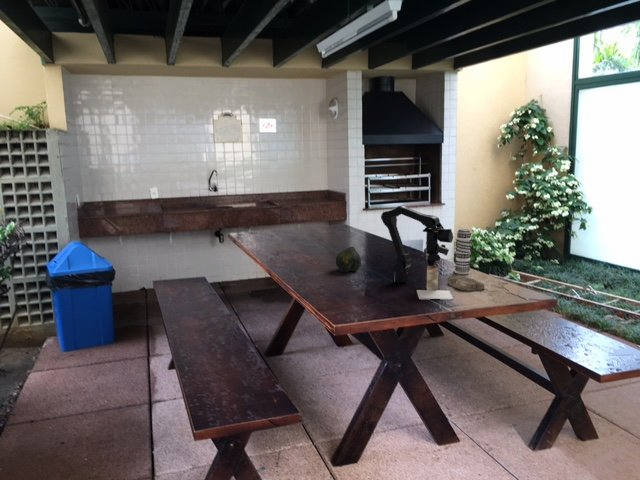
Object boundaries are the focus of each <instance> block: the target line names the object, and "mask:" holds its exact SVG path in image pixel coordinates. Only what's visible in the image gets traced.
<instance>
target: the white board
mask: <svg viewBox="0 0 640 480" xmlns="http://www.w3.org/2000/svg"><path fill="white" fill-rule="evenodd" d="M416 293H417V297H418V299H419V300H430V299H440V301H441V300H442V301H443V300H444V301H448V300H449V301H454V297H453V295H452V293H451V291H450V290H440V289H438V290H427V289H416Z"/></svg>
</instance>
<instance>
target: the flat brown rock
mask: <svg viewBox="0 0 640 480" xmlns="http://www.w3.org/2000/svg"><path fill="white" fill-rule="evenodd" d="M447 283H448V285H449V286H451V287H452V288H454V289H458V290H461V291H465V292H466V291H467V292H472V291H471V290H475V291H483V290H482V289H484V290H485V287H486V286H485V284H484V283H483V282H481V281H478V280H477V279H474V278H471V277H468V276H467V277H466V276H464V275H461V274H460V275H459V274H458V275H453V276H450V277H448V279H447Z"/></svg>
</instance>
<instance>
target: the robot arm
mask: <svg viewBox="0 0 640 480" xmlns="http://www.w3.org/2000/svg"><path fill="white" fill-rule="evenodd" d="M401 215H403V216H405V217H407V218H409V219H413V220H415V221H417V222H419V223H421V224H422V225H423V226H424V227H425V228H424V229H423V230H422V232H423V233H426V238H425V239H426V240H425V248H423V255H425V256H424V258H425V260H426V263H427V266H435V262H436V261H441V256H440V254H442V255H444V256H446V257H447V256H448V253H449V251H450V249H449V248H448V247H446V244H441V245H440V244H439V242H440V243H447V244H449V243H452V242H453V240H454V235H453V234H454V232H453V231H452V228H444V226H443V225H442V223H441V221H440V220H441V219H439V217H438V216H436V215H433V214H426V213H425V214H424V213H422V212H420V211H416V210H414V209H412V208H410V207H408V206H407V207H406V206H405V205H399V206H397V207H395V208H393V209H390V210H385V211H383V212H382V213H381V215H380V220H381V221H382V223H383V224H384V226H385V227H386V228H387V229H388V233H389V236H390V238H391V241H392V245H393V248H394V251H395V254H396V255H395V261H396V262H395V263H396V264H395V265H393V267H392V272H394V279H393V280H394V284H407V283H408V280H409V279H408V278H409V277H408V276H409V275H408V274H409V273H408V270H409V268H410V267H411V265H412V264H413V262H412V261H413V258H412V257H411V253H410V252H408V253H407V252H406V250H405V248H404V244H403V241H402V238H401V236H400V232H399V228H398V227H397V225H398V223H397V222H398V218H397V217H399V216H401Z"/></svg>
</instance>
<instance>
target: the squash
mask: <svg viewBox="0 0 640 480" xmlns="http://www.w3.org/2000/svg"><path fill="white" fill-rule="evenodd" d="M335 265H336V267H337V268H338V270H339V271H340V272H343V273H344V272H346V273H347V272H349V271H351V272H353V271H358V270H359V269H360V268H361V265H362V258H361V255H360V254H359V253H358V251H357V250H356V248H355V247H354V246H349V247H347V248H345V249H343V250H342V251H340V252H339V253H338V254H337V255H336V257H335Z"/></svg>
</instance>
